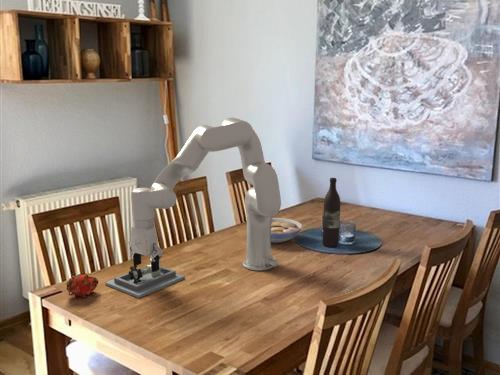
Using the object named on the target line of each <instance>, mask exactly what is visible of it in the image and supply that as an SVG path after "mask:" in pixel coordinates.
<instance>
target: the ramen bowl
mask: <svg viewBox="0 0 500 375" xmlns="http://www.w3.org/2000/svg"><path fill="white" fill-rule="evenodd" d="M302 228H303V224H302V223H301V222H300V221H296V220H294V219H290V218H286V217H285V218H283V217H271V244H272V243H273V244H281V243H284V242H287V241H290V240H293V238H295V237H296V236H297V235H298V234H299V233H300V232H301V230H302Z"/></svg>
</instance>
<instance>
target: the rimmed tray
mask: <svg viewBox="0 0 500 375" xmlns="http://www.w3.org/2000/svg"><path fill="white" fill-rule="evenodd" d="M146 266H147V265H145V266H142V267H140V268H138V269H141V270H142V269H144V268H145V267H146ZM160 271H161V275H160V276H158V277H152V276H151V273H149V274H148V273H144V274H142V275H143V277H142V278H140V280H141V282H139V283H134V279H133V280H131V279H130V277H131V274H129V272H126V273H123V274H121V275H118V276H115V277H114V278H113V279H110V280H107V281H106V282H104V283H105V286H108V287H110V288H112V289H114V290H117V291H119V292H121V293H124V294H127V295H130V296H132V297H135V298H137V299H140V298H142V297H146V296H147V295H150V294H152V293H154V292H157V291H160V290H161V289H163V288H166V287H169V286H171V285H173V284H175V283H178V282H180V281H182V280H184V279H185V278H186V276H185V275H182V274H180V273H177V272H176V271H177V270H174V269H171V268H167V267H166V266H162V265H161V270H160ZM134 272H136V271H133V276H134ZM134 277H135V276H134ZM135 278H137V276H136V277H135Z"/></svg>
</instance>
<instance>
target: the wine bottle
mask: <svg viewBox="0 0 500 375" xmlns="http://www.w3.org/2000/svg"><path fill="white" fill-rule="evenodd" d="M337 179H338V178H336V177H330V178H329V188H328V191H327V192H326V194H325V196H324V199H323V213H322V214H323V216H322V219H323V220H322V241H321V244H322V246H324V247H325V248H336V247H339V243H340V225H341V224H340V221H341V220H340V219H341V198H340V195H339V193H338V190H337V181H338V180H337Z"/></svg>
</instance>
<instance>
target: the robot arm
mask: <svg viewBox="0 0 500 375" xmlns="http://www.w3.org/2000/svg"><path fill="white" fill-rule="evenodd" d="M261 143H262V142H261V139H260V138H259V135H258V134H257V133H256V132H255V130H254V129H253V127H252V125H251V124H250V123H249V122H248V121H245V120H242V119H240V118H235V117H227V118H225V119H224V120H223V121H222V123H221V125H219V126H210V125H207V124H202V125H198V126H197V128H195V129H194V131H193V132H192V133H191V134H190V136H189V138H188V140H187V141H185V144H184V145H183V146H182V148H181V150H180V151H179V152H178V153H177V155H176V156H175V158H173V159H172V160H171V161H170V163H168V164H167V165H166V166H165V167H164V168H163V169H162V170H161V172H160V173H159V174H158V176H157V177H156V178H155V180H154V182H152V185H151V186H150V188H149V187H138V188H134V189H133V190H132V191H131V192H130V195H131V196H130V197H131V212H132V213H131V214H132V216H131V217H132V226H131V230H130V232H131V233H130V241H128V243H127V244H128V246H129V249H130V250H129V251H131V255H132V261H133V263H132V264H133V266H135V265H136V266H137V267H138V266H140V265H141V264H142V256H145V257H150V258H151V259H152V261H151V263H150V264H151V269H152V272H155V271H158V270H159V260H160V261H161V258H162V256H163V254H164V251H163V249H162V248H161V247H160V246H159V241H158V235H157V229H156V227H155V226H156V225H155V209H158V210H166V209H170V208H173V206H174V205H175V204H176V202H177V194H176V192H175V191H174V190H173V189H174V188H175V186H176V185H177V184H178V182H179V181H181V179H183V178H184V177H185V176H188V175H190V174H193V173H194V172H195V171H197V170H198V168H199V167H200V165H201V163H202V162H203V161H204V159H205V157H206V156H207V155H208V154H209V153H210V152H211V153H212V152H213V153H214V152H219V151H224V150H228V149H229V150H230V149H232V148H238V151H239V155H240V162H241V167H242V173H243V177H244V180H245V181H246V182H247V184H250V185H251V186H252V187H250V188H249V189H247V191H246V193H245V196H244V206H245V213H246V214H245V215H246V258H245V259H243V261H242V266H243V267H244V268H245V269H247V270H252V271H267V270H270V269H271V270H272V268H276V267H277V266H278V263H279V260H278V259H274V255H273V254H272V248H271V247H272V243H271V218H274V217H275V216H276V215H278V213H279V211H280V210H281V205H282V199H281V198H282V197H281V193H280V192H281V191H280V185H279V177H278V174H277V172H276V170H275V169H274V167H273V166H271V165H270V164H268V163H267V162H265V157H264V152H263V146H262V144H261Z"/></svg>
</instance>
